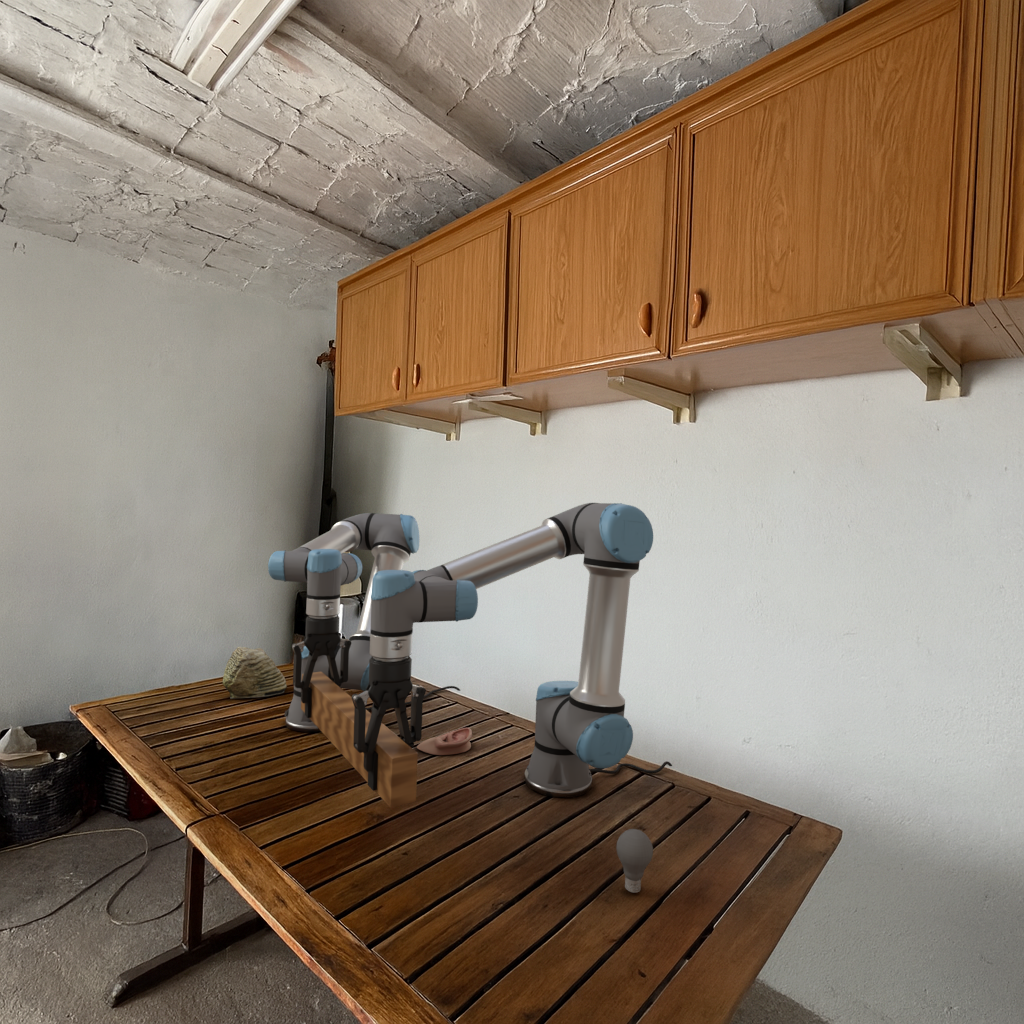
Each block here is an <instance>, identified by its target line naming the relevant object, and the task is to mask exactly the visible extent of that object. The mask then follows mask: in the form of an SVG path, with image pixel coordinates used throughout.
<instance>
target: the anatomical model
mask: <svg viewBox="0 0 1024 1024" xmlns="http://www.w3.org/2000/svg"><path fill="white" fill-rule="evenodd" d="M472 737H473V731H472V729H471V728H470V727H462V728H459V729H455V730H451V731H449V732H447V733H443V734H441V735H438V736H435V737H431V738H427V739H425V740H423V741H421V742H419V744H418V745H417V746H416V749H417V750H419V751H421V752H423V753H426V754H430V755H434V756H448V755H457V754H461V753H465V752H467V751H469V750H470V749H471V747H472V744H471V742H470V741H471V739H472Z"/></svg>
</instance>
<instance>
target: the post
mask: <svg viewBox="0 0 1024 1024" xmlns="http://www.w3.org/2000/svg"><path fill="white" fill-rule="evenodd" d="M303 675H304V674H302V678H303ZM309 687H310V688H311V689H312V701H311V718H310V719H311V720H312V722H313V723H314V724H315V725H316V726H317V727H318V728H319V729H320V730H321V731H320V732H321V733H322V734H323V735H324V736H325V737H326V738H327V739H328V740H329V742H330V743H331V744H332V745H333V746H334V747H335V748H336V750H337V751H338V752H339V753H340V754H341V756H343V757H344V758H345V760H346V761H347V762H349V764H350V765H351V766H352V767H353V769H355V770H356V771H357V773H358V774H359V775H360V776H361V777H362V778H363V779H364V781H365V782H366V783H368V772H367V771H366V770H365V769H364V766H363V764H364V753H363V752H362V753H359V752H358V751H357V750H356V749H355V748H354V746H353V741H354V710H355V707H354V704H353V701H352V695H350V694H349V693H348V692H346V691H345V690H344V689H343V688H340V687H339V686H338V685H337V684H335V683H334V682H333V681H332V680H331V679H330V678H328V677H327V676H326V675H325V674H324V673H322V672H314V673H313V674H312V677H311V681H310V684H309ZM301 709H302V710H303V712H304V713H305V703H302V701H301ZM371 714H372V712H370V711H369V710H366V724H365V737H366V733H367V729H368V725H369V721H370V718H371ZM375 751H376V752H377V753H378V775H377V790H375V791H374V792H375V793H376V794H377V795H378V797H380V799H381V800H383V802H384V803H385V804H386V805H387V806H388V807H389V808H390V809H393V808H397V807H401V806H405V805H409V804H412V803H416V802H417V788H418V787H417V786H418V785H417V783H418V780H417V779H418V756H419V753H418V752H417V751H415V749H413V747H412V748H411V747H410V746H409V745H407V744H406V743H405V742H404V741H403V740H401V737H400V736H398V735H397V734H396V733H395V732H394V731H392V729H390V728H388V726H386V725H385V724H384V723H383V722H382V723H381V727H380V731H379V734H378V738H377V742H376V746H375Z"/></svg>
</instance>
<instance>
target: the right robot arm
mask: <svg viewBox="0 0 1024 1024" xmlns="http://www.w3.org/2000/svg"><path fill="white" fill-rule="evenodd" d="M653 544H654V529H653V526H652V523H651V521H650V519H649V517H647V515H646V513H645V512H644V511H643V510H641V509H640V508H638V506H634V505H630V504H625V503H622V502H619V503H618V502H617V503H615V502H614V503H612V502H610V503H609V502H608V503H607V502H601V503H600V502H587V503H582V504H579V505H577V506H574V507H572V508H568V509H566V510H565V511H564V510H563V511H562V512H560V513H558V514H555V515H553V516H550V517H547V518H544V520H542V522H541V525H539V526H537V527H535V528H532V529H529V530H527V531H524V532H522V533H520V534H517V535H514V536H512V537H509V538H506V539H503V540H501V541H499V542H497V543H493V544H491V545H489V546H486V547H483V548H481V549H478V550H476V551H473V552H471V553H468V554H464V555H463V556H460V557H458V558H454V559H453V560H450V561H447V562H444V563H442V564H441V565H438V566H434V567H432V568H430V569H427V570H426V569H417V570H413V571H410V570H405V569H402V570H382V571H378V572H377V573H375V574H374V576H373V582H372V592H371V632H370V653H369V654H370V655H371V656H372V657H371V658H370V660H369V684H368V686H367V688H366V691H363V692H360V693H359V694H358V693H353V694H352V695H351V697H352V701H353V704H354V707H355V710H354V741H353V746H354V748H355V749H356V750H357V751H358V752H359V753H362V752H363V753H364V764H363V766H364V769H365V770H366V771H367V772H368V782H367V786H368V787H369V788H370V789H371V790H372V791H373V792H376V791H375V790H377V775H378V753H377V752H376V751H375V746H376V742H377V738H378V734H379V731H380V727H381V723H383V718H384V717H385V715H386V711H388V710H390V709H393V710H394V712H395V713H394V714H395V717H396V723H397V727H398V728H397V729H398V731H399V738H400V739H401V740H403V741H404V742H405V743H406V744H407V745H409V746H410V747H411V748H412V749H413V748H414V746H415V743H416V742H420V741H421V740H422V732H423V728H422V727H423V703H424V701H423V700H424V699H425V698H424V695H426V693H427V689H426V688H425V687H424V686H422V685H420V684H413V681H412V678H411V677H412V660H413V659H412V658H411V655H412V654H413V632H414V629H413V627H414V623H437V622H438V623H439V622H460V621H467V620H471V619H473V618H474V617H475V615H476V614H477V611H478V606H479V605H478V604H479V596H478V591H477V590H478V589H480V588H483V587H486V586H487V585H491V584H493V583H495V582H497V581H500V580H502V579H505V578H507V577H509V576H512V575H514V574H517V573H520V572H521V571H524V570H527V569H529V568H532V567H534V566H536V565H538V564H541V563H543V562H546V561H548V560H551V559H553V558H555V559H557V560H562V559H565V558H567V557H570V556H575V555H583V566H584V568H585V569H586V571H588V573H589V576H588V586H587V595H586V605H585V613H584V614H585V616H584V622H583V623H584V625H583V634H582V644H581V652H580V653H581V654H580V661H579V670H578V671H579V673H578V681H577V680H576V681H575V680H552V681H545V682H542V683H541V684H540V685H538V687H537V690H536V697H535V702H536V704H535V722H534V723H535V724H534V728H535V729H534V747H533V750H532V753H531V755H530V759H529V763H528V765H527V767H526V768H525V771H524V782H525V784H526V786H527V787H528V788H529V789H531V790H532V791H534V792H536V793H538V794H541V795H543V796H548V797H553V798H575V797H579V796H582V795H584V794H587V793H588V792H589V791H590V790H591V789H592V785H593V782H592V781H593V776H592V773H600V774H609V775H615V774H618V773H619V771H620V769H621V768H623V767H627V768H631V769H635V770H637V771H640V772H642V773H646V774H658V773H660V772H662V771H663V769H664V768H665V767H666V766H669V767H673V763H671V762H670V761H667V760H666V761H664V762H663V763H662V764H661V765H660V766H659V767H658V768H657V769H653V770H652V769H651V770H650V769H645V768H642V767H640V766H637V765H635V764H631V763H627V762H626V763H625V762H624V763H620V762H621V760H622V759H624V758H625V757H626V756H627V754H628V753H629V751H630V749H631V747H632V745H633V739H634V730H633V726H632V725H631V724H630V721H629V720H628V719H627V718H626V717H625V709H626V699H625V697H624V696H623V695H622V694H621V692H620V686H621V677H622V675H621V674H622V666H623V655H624V646H625V637H626V625H627V617H628V616H627V615H628V606H629V597H630V587H631V578H632V577H633V576H635V575H636V574H637V573H638V572H639V570H640V561H643V559H645V558H646V557H647V554H649V553H650V551H651V549H652V547H653ZM409 695H410V696H411V698H410V701H411V704H410V721H409V719H408V715H407V710H408V709H407V705H406V704H405V702H406V700H407V698H408V696H409ZM423 698H424V699H423ZM369 699H370V700H371V701H372V704H371V707H372V710H371V718H370V721H369V725H368V729H367V733H366V737H365V724H366V708H367V707H366V706H367V705H368V700H369ZM619 763H620V764H619ZM616 765H617V766H616ZM614 766H616V769H614V770H608V769H609V768H612V767H614ZM590 767H592V768H590Z"/></svg>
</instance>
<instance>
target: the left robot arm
mask: <svg viewBox="0 0 1024 1024" xmlns="http://www.w3.org/2000/svg"><path fill="white" fill-rule="evenodd" d="M419 548H420V528H419V524H418V521H417V520H416V517H415V516H413V515H410V514H403V513H400V514H395V513H394V514H393V513H377V512H374V513H373V512H366V513H365V512H363V513H359V514H355V515H352V516H349V517H346V518H343V519H342V520H340V521H338V522H336V523H335V524H334V525H332V526H331V529H330V530H329V531H326V532H325V533H323V534H321V535H319V536H317V537H315V538H314V539H311V540H310V541H308V542H306V543H304V544H302V545H300V546H299V547H297V548H294V549H293V550H276V551H274V552H273V553H271V555H270V557H269V560H268V564H267V567H268V568H267V569H268V575H269V576H270V578H271V579H272V580H274V581H282V582H289V583H290V582H295V583H306V587H307V588H306V609H305V614H306V617H305V635H304V637H303V640H302V641H300V642H297V643H296V642H294V643H292V644H291V650H292V652H293V667H292V668H293V669H292V685H293V695H292V696H293V697H292V699H291V702H290V704H289V708H288V709H287V710H285V711H284V717H285V726H286V728H287V729H289V730H291V731H294V732H295V731H296V732H301V733H316V732H322V731H321V730H320V729H319V728H318V727H317V726H316V725H315V724H314V723H313V722H312V720H311V719H310V718H311V701H312V689H311V688H310V687H309V684H310V681H311V677H312V674H313V673H314V672H322V673H324V674H325V675H326V676H327V677H328V678H330V679H331V680H332V681H333V682H334V683H335V684H337V685H338V686H339V687H340V688H341V689H342V690H344V689H345V690H356V691H363V692H364V691H366V688H367V686H368V684H369V660H370V658H371V657H372V656H371V655H370V654H369V653H370V632H371V592H372V582H373V576H374V574H375V573H377V572H378V571H382V570H403V567H404V564H406V563H408V562H409V561H410V559H411V558H410V557H411V555H412V554H416V553H418V551H419ZM355 550H357V551H359V550H360V551H371V555H372V557H374V560H373V564H372V568H371V572H370V576H369V580H368V585H367V589H366V592H365V596H364V601H363V605H362V608H361V612H360V617H359V621H358V625H357V629H356V632H355V633H353V634H352V635H350V636H349V638H342V636H341V635H340V616H339V614H340V612H341V610H340V609H341V587H342V586H344V585H349V584H352V583H353V582H355V581H356V580H358V579H359V578H360V576H361V575H362V572H363V562H362V560H361V559H360V558H359V556H358V555H356V554H354V553H351V552H354V551H355ZM302 674H304V675H303V678H302ZM448 689H454V690H457V692H460V691H461V688H459V687H457V686H455V685H447V686H443V687H440V688H437V689H433V690H430V691H429V692H427V693H425V695H424V698H423V700H424V699H426V698H428V697H429V696H431V695H432V694H434V693H437V692H441V691H444V690H448ZM301 701H302V703H305V713H304V712H303V710H302V709H301ZM405 704H406V706H407V705H411V700H410V701H407V702H406V701H405ZM365 708H366V710H367V711H372V706H371V707H370V706H369V707H365Z"/></svg>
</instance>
